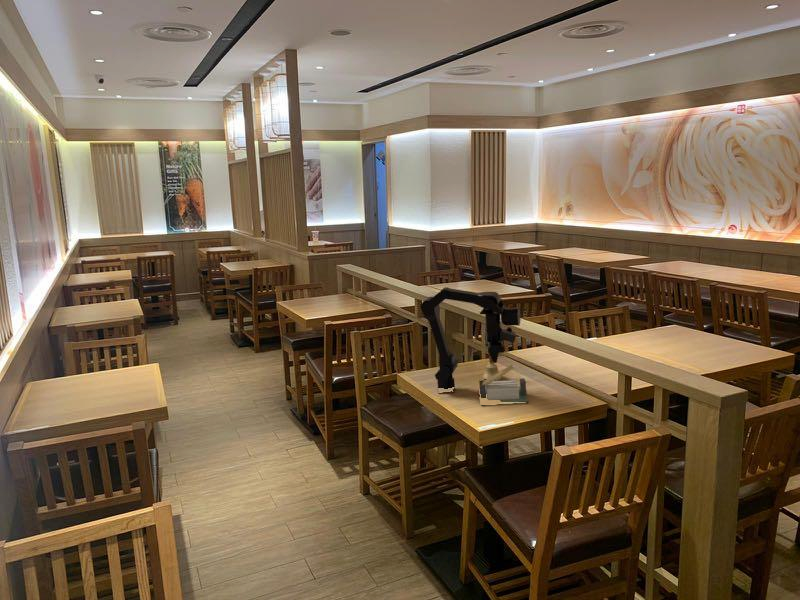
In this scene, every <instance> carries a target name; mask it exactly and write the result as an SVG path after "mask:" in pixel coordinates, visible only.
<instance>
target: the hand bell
mask: <svg viewBox="0 0 800 600" xmlns="http://www.w3.org/2000/svg"><path fill="white" fill-rule="evenodd" d="M487 354H488V356H489V357H488V362H489V363H488V364H487V365H486V368H485V369H486V370H485V372H484V374H483V375H482V379H483V378H485V379H489V378H490V377H492V376H494V375H495V374H497V373H499V372H500V371H499V369H498V365H497V363H494V362H493V360H492V358H491V356H490V354H489V353H488V352H487ZM502 378H503V376H501V377H500V378H498V379H496V380H497V381H500V380H501V379H502ZM499 379H500V380H499Z"/></svg>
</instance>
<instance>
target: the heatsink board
mask: <svg viewBox="0 0 800 600" xmlns="http://www.w3.org/2000/svg"><path fill="white" fill-rule="evenodd" d="M484 381H485V380H484V379H482V380H479V381H478V382H479V383H478V384H479V389H480V394H481V398H486V394H487V399H488V400H500V401H501V402H528V403H529V399H528V397H527V386H526V385H527V381H526V380H525V377H524V378H523V377H522V378H519V385H518V382H517V380H516V379H515V380H503V381H501V380H497V381H493V382H491V383H490V384H488V385H487V386H485V385H482V382H484Z"/></svg>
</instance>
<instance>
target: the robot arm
mask: <svg viewBox="0 0 800 600" xmlns="http://www.w3.org/2000/svg"><path fill="white" fill-rule="evenodd" d="M445 300H449V301H457V302H461V303H470V304H475V305H476V306H478V307H480V308H482V309H481V311H479V315H484V318H485V319H484V320H485V321H484V322H485V333H484V341H486V344H485V346H486V349H487V354H488V353H489V354H490V356H491V358H492V360H493V362H494V364H497V363H498V358H499V354H501V353H505V352H506V351H505V345H504V344H503V341H506V342H509V343H511V344H514V343H515V341H516V337H517V334H516V332H515V331H513V329H512V327H511V326H515V327H516V326H520V325H521V320H522V319H521V316H522V315H521V313H520V310H519V309H520V308H519V307H507V306H506V304H505V302H504V301H503V300H502V299H501V296H500V294H499V293H498V292H496V291H481V292H476V291H471V290H470V291H469V290H462V289H456V288H450V287H443V288H442V289H441V290H440V291H438V293H436V294H435V295H433V296H428V297H427V298H425V299H424V300H423V301H422V302H421V304H420V310H421V312H422V314H423V316H424V317H425V319H426V320H427V321H428V323H429V328H430V329H431V332H432V336H433V339H434V343H435V346H436V348H437V352H438V366H439V369H438V370H437V372H436V373H435V374H434V377H435V379H436V380H437V389H438V388H444V389H448V388H452V387H455V388H456V386H455V385H456V384H455V378H454V377H453V374H454V372H455V371H456V369H457V368H458V363H459V359H458V358H457V353H456V352H454V353H452V351H451V350H450V347H449V344H448V340H447V337H446V334H445V331H444V328H443V324H442V321H441V318H440V317H441V315H440V313H441V312H440V311H441V310H440V309H441V307H440V305H441V304H442V302H443V301H445ZM501 324H502V325H504V326H507V327H506V328H502V325H501ZM489 354H488V355H489Z"/></svg>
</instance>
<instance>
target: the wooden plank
mask: <svg viewBox="0 0 800 600" xmlns="http://www.w3.org/2000/svg"><path fill="white" fill-rule="evenodd" d="M514 369H515V368H514V366H513V364H510V365H509V366H507V367H504V369H502V370H500V371H499V373H497V374H495V375H494V376H492V377H490V378H489V379H487V380H484V382H482V385H485V387H486V386H487V385H488V384H490V383H491V382H496V381H495V380H496V379H498V378H500V377H501V376H502V377H503V376H505V375H507V374H508V373H509V372H511V371H513V370H514Z"/></svg>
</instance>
